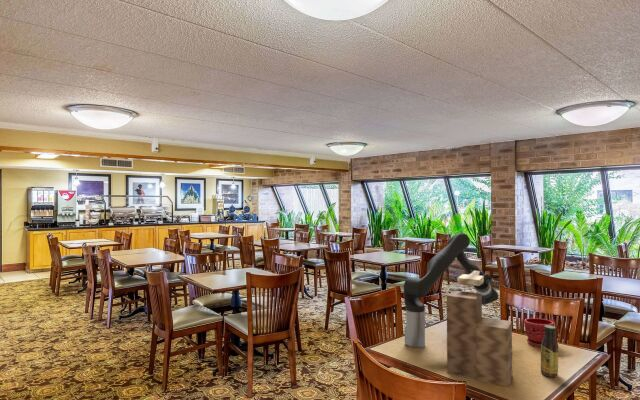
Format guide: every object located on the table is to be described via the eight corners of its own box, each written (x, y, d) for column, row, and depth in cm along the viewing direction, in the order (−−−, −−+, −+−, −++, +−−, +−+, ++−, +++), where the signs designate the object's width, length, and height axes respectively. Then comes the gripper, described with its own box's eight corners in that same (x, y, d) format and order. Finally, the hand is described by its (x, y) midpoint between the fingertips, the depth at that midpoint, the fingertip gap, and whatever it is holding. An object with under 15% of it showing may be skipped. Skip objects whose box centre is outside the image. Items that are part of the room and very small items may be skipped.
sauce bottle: (537, 371, 162) (536, 324, 162) (551, 371, 162) (550, 323, 163) (547, 378, 155) (547, 328, 155) (562, 378, 156) (561, 328, 156)
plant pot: (554, 343, 196) (554, 319, 196) (554, 351, 185) (553, 326, 185) (525, 338, 203) (525, 315, 203) (523, 346, 192) (523, 321, 192)
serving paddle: (457, 283, 169) (457, 277, 169) (468, 275, 188) (468, 270, 188) (479, 285, 164) (479, 279, 164) (488, 277, 183) (488, 271, 183)
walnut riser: (447, 372, 161) (446, 295, 161) (454, 363, 171) (454, 290, 171) (508, 386, 148) (507, 302, 149) (512, 375, 158) (511, 296, 159)
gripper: (467, 276, 197) (460, 263, 185) (498, 279, 190) (492, 266, 177) (466, 291, 194) (459, 278, 182) (496, 294, 187) (491, 281, 174)
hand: (475, 272), depth 180 cm, fingers closed on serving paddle, 3 cm apart
